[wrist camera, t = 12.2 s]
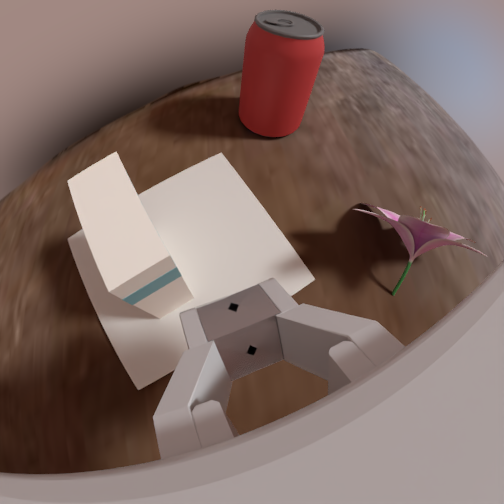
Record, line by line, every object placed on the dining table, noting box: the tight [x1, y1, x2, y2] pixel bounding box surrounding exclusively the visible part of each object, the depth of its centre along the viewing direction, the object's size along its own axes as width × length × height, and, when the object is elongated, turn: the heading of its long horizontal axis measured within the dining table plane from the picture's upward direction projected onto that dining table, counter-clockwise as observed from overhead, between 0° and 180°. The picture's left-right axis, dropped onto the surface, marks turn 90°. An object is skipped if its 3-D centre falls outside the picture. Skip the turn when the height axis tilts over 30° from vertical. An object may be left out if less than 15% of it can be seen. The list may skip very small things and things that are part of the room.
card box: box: [68, 152, 194, 319], centre depth 16 cm, size 3×6×10 cm, turn 34°
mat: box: [68, 153, 315, 390], centre depth 22 cm, size 16×14×1 cm
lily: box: [354, 203, 488, 295], centre depth 20 cm, size 12×12×10 cm
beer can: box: [239, 10, 324, 137], centre depth 22 cm, size 7×7×12 cm
